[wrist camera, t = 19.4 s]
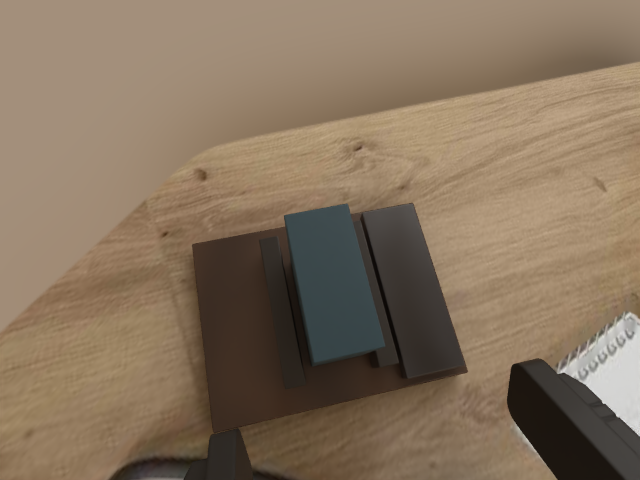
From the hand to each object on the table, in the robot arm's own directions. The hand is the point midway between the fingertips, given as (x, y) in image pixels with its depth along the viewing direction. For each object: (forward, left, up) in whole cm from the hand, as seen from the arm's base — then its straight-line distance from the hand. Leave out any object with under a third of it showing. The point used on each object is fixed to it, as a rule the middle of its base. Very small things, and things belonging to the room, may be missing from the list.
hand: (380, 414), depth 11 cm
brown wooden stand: (+1, -5, -15) cm, 16 cm away
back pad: (+1, -5, -13) cm, 14 cm away
